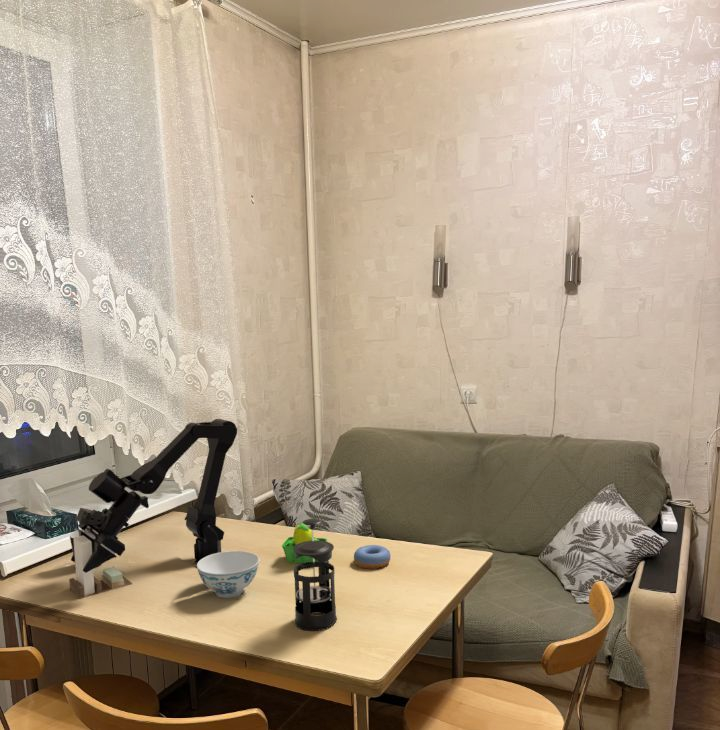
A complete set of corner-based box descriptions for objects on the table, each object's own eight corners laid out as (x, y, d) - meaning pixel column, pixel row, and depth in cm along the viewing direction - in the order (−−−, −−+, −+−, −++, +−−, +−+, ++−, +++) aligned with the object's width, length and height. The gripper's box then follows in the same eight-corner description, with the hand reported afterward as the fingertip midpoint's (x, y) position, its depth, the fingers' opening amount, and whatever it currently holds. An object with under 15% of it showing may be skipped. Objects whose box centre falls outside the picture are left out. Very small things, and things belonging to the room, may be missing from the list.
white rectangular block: (86, 585, 173) (83, 535, 172) (94, 592, 169) (91, 541, 168) (76, 588, 172) (73, 537, 171) (84, 595, 167) (81, 543, 166)
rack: (121, 578, 180) (120, 565, 180) (132, 587, 174) (132, 574, 174) (69, 592, 172) (68, 579, 172) (80, 602, 166) (79, 588, 165)
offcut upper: (113, 572, 178) (113, 566, 178) (122, 579, 173) (122, 573, 173) (102, 575, 176) (102, 569, 176) (111, 582, 171) (111, 576, 171)
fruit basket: (328, 555, 192) (327, 516, 191) (321, 567, 183) (319, 526, 182) (289, 554, 194) (287, 515, 193) (280, 566, 186) (278, 525, 184)
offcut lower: (114, 577, 178) (113, 571, 178) (124, 585, 173) (123, 579, 173) (102, 580, 176) (101, 574, 176) (112, 588, 171) (111, 583, 171)
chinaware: (185, 600, 165) (184, 569, 165) (220, 576, 179) (219, 548, 179) (239, 609, 160) (238, 577, 159) (271, 584, 174) (270, 554, 173)
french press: (326, 635, 146) (322, 529, 144) (286, 629, 149) (282, 526, 147) (346, 611, 157) (343, 513, 155) (308, 606, 160) (304, 509, 158)
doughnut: (388, 570, 180) (387, 552, 180) (351, 570, 182) (349, 553, 182) (393, 559, 190) (392, 543, 190) (357, 560, 192) (356, 543, 192)
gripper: (83, 488, 178) (41, 539, 172) (109, 503, 163) (63, 560, 158) (115, 511, 184) (75, 562, 178) (143, 527, 169) (100, 583, 163)
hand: (78, 566), depth 169 cm, fingers open, 9 cm apart
